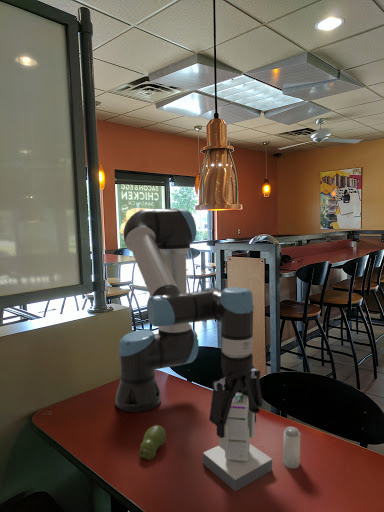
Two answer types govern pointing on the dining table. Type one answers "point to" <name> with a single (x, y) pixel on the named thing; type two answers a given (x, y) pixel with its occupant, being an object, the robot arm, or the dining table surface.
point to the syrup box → (238, 429)
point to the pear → (152, 441)
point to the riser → (237, 466)
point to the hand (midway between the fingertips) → (236, 441)
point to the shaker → (291, 447)
